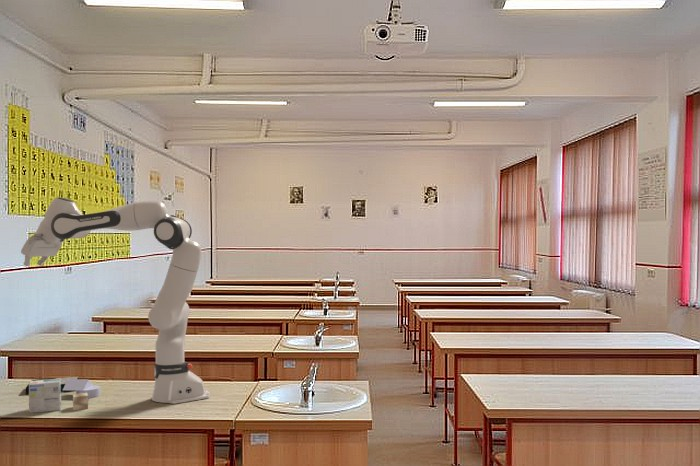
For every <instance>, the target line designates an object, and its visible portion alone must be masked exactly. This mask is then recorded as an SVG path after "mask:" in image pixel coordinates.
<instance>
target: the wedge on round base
mask: <svg viewBox="0 0 700 466" xmlns="http://www.w3.org/2000/svg"><path fill="white" fill-rule="evenodd" d="M63 390H76V391H75V392H76V393H75V394H79V393H87V394H88V400H90V399H95V398H98V397H100V396H101V386H100V385H96V384H93V383H92V382H91V380H89V379H86V378H85V379H80V378H79V379H68V380H67V382H66V384H65V386H64V388H63Z"/></svg>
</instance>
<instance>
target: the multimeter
mask: <svg viewBox="0 0 700 466" xmlns="http://www.w3.org/2000/svg"><path fill="white" fill-rule="evenodd" d="M49 379H50V378H44V379H43V378H41V379H31V381H38V380H49ZM52 379H61V393H66V392H67V393H68V392H69V393H70V392H76V390H63V388H64V386H65V384H66V382H67V380H68V379H80V377H79V376H73V377H57V378H52ZM29 384H30V382H29V383H28V384H27V385H26V387H25V395H28V396H29Z"/></svg>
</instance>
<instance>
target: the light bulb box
mask: <svg viewBox="0 0 700 466" xmlns="http://www.w3.org/2000/svg"><path fill="white" fill-rule="evenodd" d="M48 379H49V380H39V379H37V380H38V381H32V380H31V381H30V382H29V383H30V384H29V383H28V384H29V394H28V410H29V411H28V413H29V414H32V413H34V414H35V413H44V412H54V411H61V408H62V392H61V379H53V378H48Z"/></svg>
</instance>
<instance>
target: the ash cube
mask: <svg viewBox="0 0 700 466" xmlns="http://www.w3.org/2000/svg"><path fill="white" fill-rule="evenodd" d="M72 409H73V411H78V410H86V409H87V410H88V409H89V399H88V394H87V393H79V394H76V393H73V394H72Z"/></svg>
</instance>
